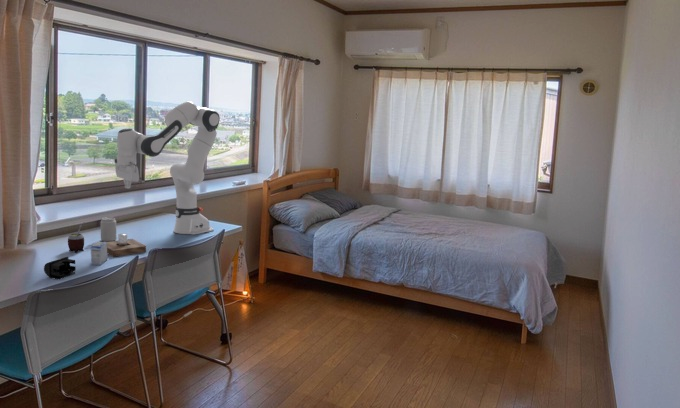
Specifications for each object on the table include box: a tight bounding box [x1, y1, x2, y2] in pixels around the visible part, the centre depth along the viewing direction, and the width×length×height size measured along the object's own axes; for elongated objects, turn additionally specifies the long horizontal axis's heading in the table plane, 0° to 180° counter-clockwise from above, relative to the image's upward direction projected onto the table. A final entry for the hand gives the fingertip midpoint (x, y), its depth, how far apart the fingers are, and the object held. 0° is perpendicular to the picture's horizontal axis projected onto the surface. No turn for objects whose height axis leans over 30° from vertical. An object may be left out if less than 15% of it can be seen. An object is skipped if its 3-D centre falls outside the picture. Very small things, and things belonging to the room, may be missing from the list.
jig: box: [107, 238, 147, 258], centre depth 260 cm, size 16×16×3 cm
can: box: [100, 216, 118, 242], centre depth 274 cm, size 8×8×12 cm
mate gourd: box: [67, 222, 86, 254], centre depth 253 cm, size 8×8×15 cm
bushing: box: [117, 233, 128, 247], centre depth 260 cm, size 4×4×8 cm
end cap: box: [43, 256, 76, 280], centre depth 220 cm, size 10×7×7 cm
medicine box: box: [90, 241, 108, 266], centre depth 239 cm, size 8×4×9 cm, turn 5°
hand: (127, 188), depth 269 cm, fingers closed
